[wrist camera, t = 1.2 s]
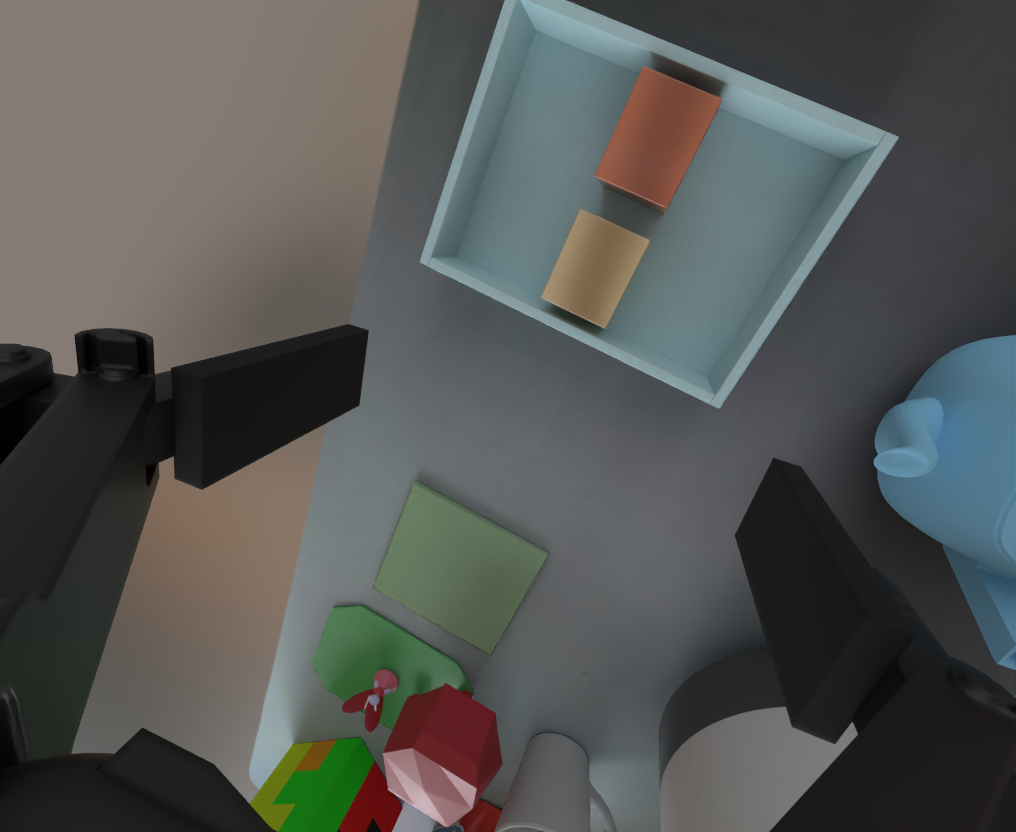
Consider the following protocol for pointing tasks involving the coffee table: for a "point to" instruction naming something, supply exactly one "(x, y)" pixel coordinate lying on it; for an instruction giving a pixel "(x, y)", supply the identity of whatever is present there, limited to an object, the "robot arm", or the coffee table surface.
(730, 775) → the planter
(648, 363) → the box
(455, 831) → the figurine
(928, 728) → the robot arm
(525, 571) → the mat
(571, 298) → the birch piece
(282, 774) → the puzzle toy
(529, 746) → the cup
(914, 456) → the teapot
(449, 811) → the low-poly diorama
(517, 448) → the coffee table surface
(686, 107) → the terracotta piece
